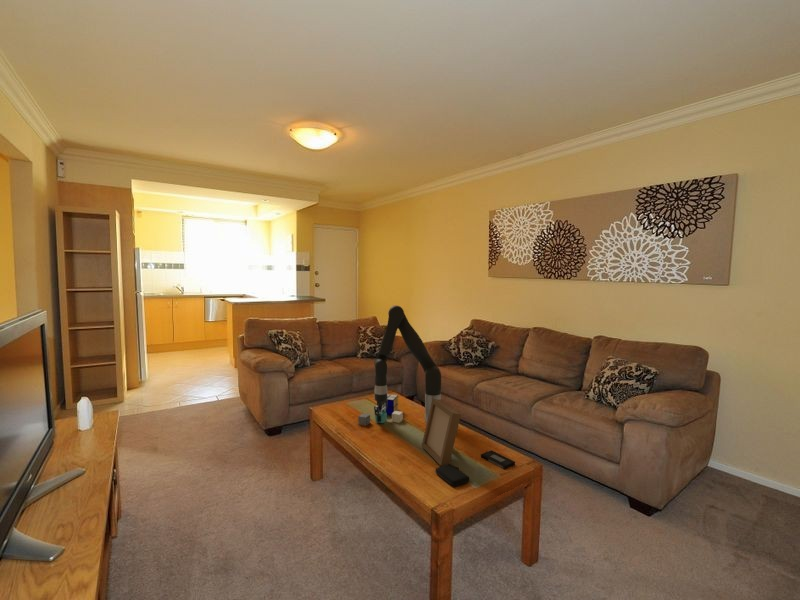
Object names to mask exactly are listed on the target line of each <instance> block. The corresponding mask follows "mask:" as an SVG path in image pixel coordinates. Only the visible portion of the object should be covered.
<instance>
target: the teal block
mask: <svg viewBox="0 0 800 600" xmlns="http://www.w3.org/2000/svg"><path fill="white" fill-rule="evenodd" d="M379 414H380V412H379ZM374 416H375V423H380V424H384V423H386V421H388V415H387V412H383V411H382V412H381V422H377V416H376V415H375V414H374Z"/></svg>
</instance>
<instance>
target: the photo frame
mask: <svg viewBox="0 0 800 600" xmlns="http://www.w3.org/2000/svg"><path fill="white" fill-rule="evenodd" d="M461 415H462V414H461V413H460V412H459V411H457V410H456V409H454V408H453V407H451V406H450V405H449V404H447V403H445V402H444V401H443V400H438V399H432V403H431V407H430V412H429V416H428V420H427V423H426V425H425V430H424V434H423V439H422V443H421V447H422V448H423V450H425V451H426V452H427V454H429V455H430V456H431V457H432V459H434V460H435V462H437V464H439V467H441V466H445V465H448V464H451V459H452V455H453V451H454V446H455V443H456V442H455V441H456V439H457V438H456V437H457V434H458V433H457V432H458V430H459V429H458V428H459V424H460V420H461Z"/></svg>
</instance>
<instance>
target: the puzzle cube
mask: <svg viewBox="0 0 800 600" xmlns="http://www.w3.org/2000/svg"><path fill="white" fill-rule="evenodd" d="M387 400H388V404H387V410H386V412H387V416H392V413H393V412H394V411H399V395H398V394H389V393H387Z"/></svg>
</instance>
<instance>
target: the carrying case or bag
mask: <svg viewBox="0 0 800 600" xmlns="http://www.w3.org/2000/svg"><path fill="white" fill-rule="evenodd" d="M435 473H436V474H437V476H438V477H440V478H441V479H442V480H443V481H445V482H446V483H448V484H449V485H450V486H451V487H453V488H455V487H459V486H462V485H465V484H467V483H469V482H470V476H469V475H467V474H465V473H464V472H463V471H462V470H461V469H460V468H459V467H457V466H455V465H453V464H451V463H450V464H448V465H445V466H439V467H436V469H435Z"/></svg>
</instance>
